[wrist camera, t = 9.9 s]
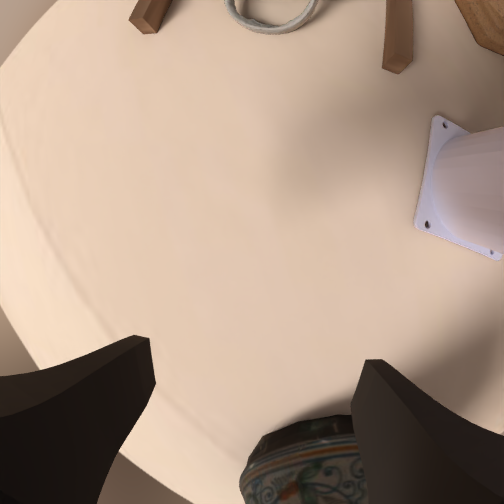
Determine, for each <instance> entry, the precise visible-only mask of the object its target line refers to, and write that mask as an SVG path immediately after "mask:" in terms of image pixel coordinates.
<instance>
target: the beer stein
mask: <svg viewBox="0 0 504 504" xmlns="http://www.w3.org/2000/svg"><path fill="white" fill-rule="evenodd" d="M239 487H240V491H241V494H242V496H243V498H244V501H245V504H368V491H367V484H366V478H365V474H364V470H363V466H362V461H361V457H360V453H359V449H358V445H357V441H356V437H355V433H354V429H353V421H352V415H335V416H330V417H324V418H319V419H313V420H307V421H300V422H297V423H295V424H292V425H290V426H288V427H285V428H283V429H280V430H278V431H275V432H273V433H270V434H268V435H265V436H263V437H262V438H261V440H260V441H259V443H258V444H257V446H256V447H255V449H254V450H253V452H252V453H251V455H250V456H249V458H248V462H247V466H246V468H245V469H244V471H243V473H242V474H241V477H240V481H239Z"/></svg>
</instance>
